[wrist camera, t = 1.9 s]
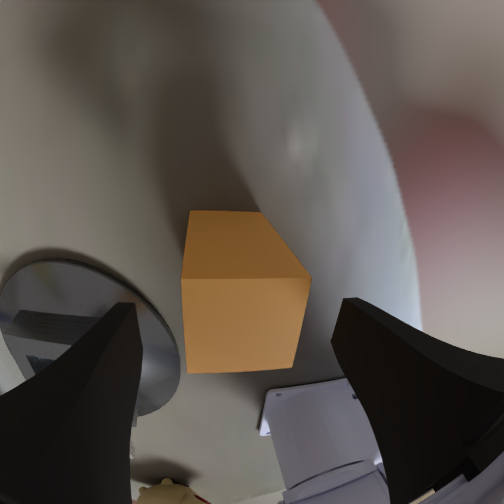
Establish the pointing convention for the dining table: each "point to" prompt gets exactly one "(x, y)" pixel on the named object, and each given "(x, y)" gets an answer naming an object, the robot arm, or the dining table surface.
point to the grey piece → (82, 323)
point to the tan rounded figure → (169, 494)
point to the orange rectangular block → (240, 294)
